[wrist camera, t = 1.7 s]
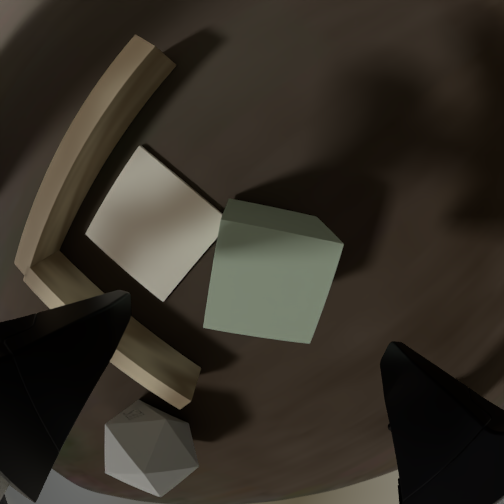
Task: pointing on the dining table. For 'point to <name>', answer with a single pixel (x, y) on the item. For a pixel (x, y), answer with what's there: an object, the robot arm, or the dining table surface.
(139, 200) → the wooden corner guide
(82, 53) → the dining table surface
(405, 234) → the dining table surface
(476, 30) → the dining table surface
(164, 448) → the die
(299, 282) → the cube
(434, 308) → the dining table surface
